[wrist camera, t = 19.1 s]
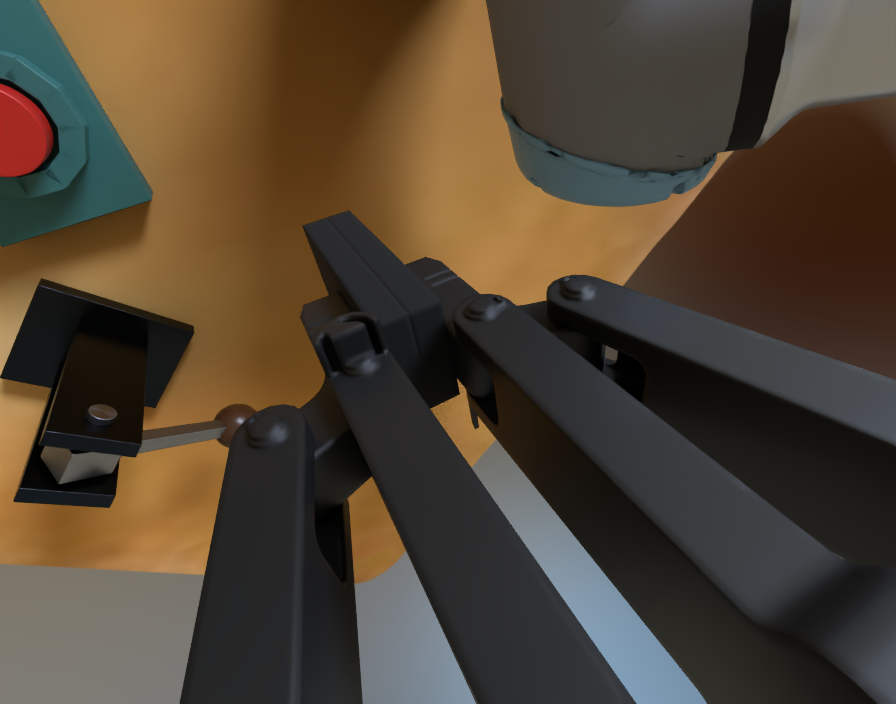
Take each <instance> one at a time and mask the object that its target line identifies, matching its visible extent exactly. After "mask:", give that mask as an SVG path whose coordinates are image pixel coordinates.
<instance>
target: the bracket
mask: <svg viewBox="0 0 896 704" xmlns="http://www.w3.org/2000/svg"><path fill="white" fill-rule="evenodd" d="M193 334H194V327H193V326H192V325H188V324H185V323H182V322H179V321H176V320H172V319H169V318H166V317H163V316H160V315H157V314H153V313H150V312H147V311H144V310H141V309H137V308H134V307H131V306H128V305H125V304H121V303H118V302H115V301H112V300H109V299H106V298H102V297H99V296H96V295H93V294H90V293H86V292H83V291H80V290H77V289H74V288H71V287H67V286H64V285H61V284H58V283H55V282H51V281H48V280H45V279H41V280H40V282H39V284H38V286H37V288H36V291H35V293H34V296H33V298H32V301H31V303H30V305H29V308H28V310H27V313H26V315H25V318H24V320H23V322H22V325H21V327H20V330H19V332H18V335H17V337H16V340H15V342H14V344H13V347H12V349H11V352H10V354H9V357H8V359H7V361H6V364H5V366H4V369H3V371H2V374H1V376H0V378H2V379H7V380H12V381H18V382H23V383H28V384H33V385H38V386H44V387H49V388H51V389H50V392H49V395H48V398H47V401H46V404H45V407H44V410H43V413H42V416H41V419H40V422H39V425H38V428H37V431H36V434H35V437H34V440H33V443H32V446H31V449H30V452H29V455H28V458H27V461H26V464H25V467H24V470H23V473H22V476H21V479H20V482H19V485H18V488H17V491H16V494H15V497H14V500H13V501H14V502H23V503H39V504H55V505H71V506H87V507H103V508H109V507H110V506H111V504H112V502H113V500H114V498H115V496H116V488H117V479H118V470H119V461H120V459H119V461H118V463H117V465H116V467H115V469H114V470H113V472H112V473H110V474H105V475H101V476H96V477H91V478H87V479H82V480H77V481H73V482H68V483H63V484H58V482H57V481H56V479H55V478H54V476H53V475H52V473H51V472H50V470H49V469H48V467H47V466H46V464H45V463H44V461H43V460H42V458H41V454H42V452H43V449H44V447H45V446H48V447H56V448H64V449H72V450H80V451H88V452H96V453H104V454H111V455H119V456H127V457H136V455H137V454H138V452H139V450H140V448H141V446H142V434H143V418H144V406H147V407H152V408H156V406H157V404H158V402H159V400H160V398H161V396H162V394H163V392H164V390H165V388H166V386H167V384H168V383H169V381H170V379H171V377H172V375H173V373H174V371H175V369H176V367H177V365H178V363H179V361H180V359H181V357H182V355H183V353H184V351H185V349H186V348H187V346H188V344H189V342H190V340H191V338H192V336H193Z"/></svg>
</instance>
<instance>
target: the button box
mask: <svg viewBox="0 0 896 704" xmlns="http://www.w3.org/2000/svg"><path fill="white" fill-rule="evenodd" d="M0 83H1V84H4V85H6V86H9V87H11V88H13V89H15V90H17V91H18V92H20V93H22V94H23V95H25V96H26V97H27V98H29V99H30V100H31V101H32V102H33V103H34V104H36V106H37V107H38V108H39V109H40V110H41V111H42V112H43V114H44V115H45V117H46V118H47V120H48V122H49V124H50V126H51V129H52V132H53V148H52V151H51V153H50V155H49V156H48V158H47V159H46V160H45V161H44V162H43V163H42V164H41V165H40V166H39V167H38V168H36V169H35V170H34V171H32V172H30V173H28V174H25V175H22V176H17V177H0V245H1V246H2V247H4V246H7V245H10V244H13V243H17V242H20V241H23V240H26V239H29V238H32V237H36V236H39V235H42V234H45V233H48V232H52V231H55V230H58V229H61V228H64V227H67V226H71V225H74V224H77V223H80V222H83V221H87V220H90V219H93V218H96V217H99V216H102V215H106V214H109V213H112V212H115V211H118V210H122V209H125V208H128V207H131V206H134V205H137V204H141V203H144V202H147V201H150V200H152V194H153V191H152V190H151V188H150V186H149V185H148V183H147V181H146V180H145V178H144V176H143V175H142V173H141V171H140V170H139V168H138V166H137V165H136V163H135V161H134V160H133V158H132V156H131V155H130V153H129V151H128V150H127V148H126V146H125V145H124V143H123V141H122V140H121V138H120V136H119V135H118V133H117V131H116V130H115V128H114V126H113V125H112V123H111V121H110V119H109V118H108V116H107V114H106V113H105V111H104V109H103V108H102V106H101V104H100V103H99V101H98V99H97V98H96V96H95V94H94V93H93V91H92V89H91V88H90V86H89V84H88V83H87V81H86V79H85V78H84V76H83V74H82V73H81V71H80V69H79V68H78V66H77V64H76V63H75V61H74V59H73V58H72V56H71V54H70V53H69V51H68V49H67V48H66V46H65V44H64V43H63V41H62V39H61V38H60V36H59V34H58V33H57V31H56V29H55V28H54V26H53V24H52V23H51V21H50V19H49V18H48V16H47V14H46V13H45V11H44V9H43V8H42V6H41V4H40V3H39V1H38V0H0Z"/></svg>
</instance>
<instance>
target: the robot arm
mask: <svg viewBox="0 0 896 704" xmlns="http://www.w3.org/2000/svg"><path fill="white" fill-rule="evenodd" d="M486 4H487V9H488V15H489V21H490V27H491V33H492V38H493V44H494V50H495V56H496V62H497V67H498V73H499V79H500V85H501V91H502V97H501V100H500V101H501V110H502V114H503V116H504V118H505V120H506V122H507V124H508V128H509V132H510V137H511V141H512V145H513V150H514V154H515V159H516V162H517V165H518V167H519V168H520V170H521V172H522V173H523V175H524V176H525V177H526V178H527V179H528V180H529V181H530V182H531V183H533V184H534V185H535V186H537V187H540V188H541V189H542V190H543V191H544V192H545V193H547V194H549V195H552V196H554V197H557V198H560V199H563V200H566V201H570V202H574V203H579V204H585V205H593V206H608V207H622V206H636V205H644V204H650V203H655V202H659V201H663V200H666V199H668V198H669V197H670V195H671V193H674V194H683V193H685V192H687V191H689V190H691V189H692V188H694V187H696V186H697V185H698V184H699V183H700V182H702V181H703V180H704V178H705V177H706V175H707V174H708V172H709V171H710V169H711V168H712V166H713V165H714V163H715V162H716V158H717V153H719V152H726V151H734V150H741V149H750V148H757V147H760V146H762V145H763V144H764V143H765V142H766V141H767V140H768V139H769V138H770V137H772V135H774V134H775V133H776V132H777V131H778V130H779V129H780V128H781V127H782V126H783V125H784V124H785V123H786V122H788V121H789V120H790V119H791V118H792V117H793V116H795V115H796V114H798V113H800V112H801V111H803V110H805V109H809V108H815V107H823V106H829V105H837V104H843V103H850V102H857V101H863V100H870V99H877V98H884V97H891V96H896V0H486ZM303 229H304V231H305V234H306V236H307V239H308V242H309V244H310V247H311V249H312V252H313V255H314V257H315V260H316V263H317V265H318V268H319V270H320V273H321V276H322V278H323V281H324V283H325V286H326V289H327V291H328V294H329V296H326V297H323V298H321V299H318V300H316V301H313V302H310V303H308V304H305V305H304V306H303V309H302V312H301V316H300V318H301V321H302V323H303V325H304V327H305V329H306V332H307V334H308V336H309V338H310V341H311V343H312V345H313V347H314V350H315V352H316V354H317V356H318V358H319V361H320V363H321V365H322V367H323V370H324V372H325V380H324V383H323V385H322V387H321V389H320V391H319V392H318V393H317V394H316V395H315V397H313V398H312V399H311V400H310V401H309V402H308V403H306V404H305V405H304V406H302V407H301V408H299V409H298V408H296V407H295V406H290V405H285V404H283V405H276V406H270V407H268V408H265V409H263V410H260V411H258V412H256V413H255V414H253V415H252V416H250V417H249V418H248V419H246V420H245V421H244V422H243V423H242V424H241V425H240V426H239V428H238V429H237V430H236V431H235V433H234V435H233V438H232V440H231V443H230V448H229V453H228V458H227V463H226V468H225V473H224V479H223V484H222V489H221V494H220V499H219V504H218V509H217V514H216V520H215V525H214V530H213V535H212V540H211V545H210V550H209V555H208V561H207V566H206V571H205V576H204V581H203V586H202V591H201V597H200V602H199V607H198V612H197V617H196V622H195V627H194V633H193V638H192V643H191V648H190V653H189V658H188V663H187V668H186V673H185V678H184V684H183V689H182V694H181V699H180V704H363V702H362V689H361V673H360V658H359V644H358V630H357V615H356V601H355V586H354V571H353V557H352V542H351V528H350V513H349V502H348V499H347V498H348V497H349V496H350V495H351V494H353V493H354V492H355V491H356V490H357V489H358V488H359V487H360V486H361V485H363V484H364V483H365V482H366V481H367V480H368V479H369V478H370V477H371V476H372V477H373V480H374V482H375V484H376V486H377V488H378V490H379V493H380V495H381V497H382V499H383V501H384V503H385V506H386V508H387V510H388V512H389V514H390V517H391V519H392V521H393V523H394V525H395V527H396V530H397V532H398V534H399V536H400V538H401V540H402V543H403V545H404V547H405V549H406V551H407V553H408V556H409V558H410V560H411V562H412V564H413V566H414V569H415V571H416V573H417V575H418V577H419V580H420V582H421V584H422V586H423V588H424V590H425V592H426V595H427V597H428V599H429V601H430V604H431V606H432V608H433V610H434V612H435V614H436V617H437V619H438V621H439V623H440V625H441V628H442V630H443V632H444V634H445V636H446V638H447V640H448V643H449V645H450V647H451V649H452V652H453V653H454V656H455V658H456V660H457V662H458V664H459V667H460V669H461V671H462V673H463V675H464V677H465V680H466V682H467V684H468V686H469V688H470V690H471V693H472V695H473V697H474V699H475V702H476V704H636V702H635V701H634V700H633V698H632V697H631V695H630V694H629V693H628V691H627V690H626V689H625V687H624V685H623V684H622V683H621V681H620V680H619V678H618V677H617V675H616V674H615V673H614V671H613V670H612V668H611V667H610V665H609V664H608V663H607V661H606V660H605V658H604V657H603V655H602V654H601V653H600V651H599V650H598V648H597V647H596V645H595V644H594V643H593V641H592V640H591V638H590V637H589V635H588V634H587V633H586V631H585V630H584V628H583V627H582V625H581V624H580V623H579V621H578V620H577V618H576V617H575V615H574V614H573V613H572V611H571V610H570V609H569V607H568V606H567V604H566V603H565V601H564V600H563V598H562V597H561V596H560V594H559V593H558V591H557V590H556V588H555V587H554V585H553V584H552V583H551V581H550V580H549V578H548V577H547V575H546V574H545V573H544V571H543V570H542V568H541V567H540V565H539V564H538V563H537V561H536V560H535V559H534V557H533V555H532V554H531V553H530V551H529V550H528V548H527V547H526V545H525V544H524V543H523V541H522V540H521V538H520V537H519V536H518V534H517V533H516V532H515V530H514V528H513V527H512V525H511V524H510V523H509V521H508V520H507V518H506V517H505V515H504V514H503V513H502V511H501V510H500V508H499V507H498V505H497V504H496V503H495V501H494V500H493V499H492V497H491V495H490V494H489V493H488V491H487V490H486V488H485V487H484V485H483V484H482V483H481V481H480V480H479V478H478V477H477V476H476V474H475V473H474V471H473V470H472V468H471V467H470V465H469V464H468V463H467V461H466V460H465V458H464V457H463V455H462V454H461V453H460V451H459V450H458V448H457V447H456V445H455V444H454V443H453V441H452V440H451V438H450V437H449V435H448V434H447V433H446V431H445V430H444V428H443V427H442V425H441V424H440V423H439V421H438V420H437V418H436V417H435V415H434V414H433V413H432V411H431V410H430V408H433V407H435V406H437V405H439V404H441V403H443V402H445V401H447V400H449V399H451V398H453V397H455V396H457V395H459V394H460V392H459V387H458V382H457V379H458V380H459V381H460V382H461V383H462V385H463V386H464V387H465V388H466V392H467V398H468V403H469V408H470V414H471V419H472V423H473V426H474V428H475V429H477V428H478V427H479V424H478V418H477V416H478V417H479V418H480V419H481V420H482V422H483V423H484V424H485V425H486V427H487V428H488V429H489V430H490V432H491V433H492V434H493V435H494V437H495V438H496V439H497V440H498V442H499V443H500V444H501V445H502V446H503V448H504V449H505V450H506V451H507V453H508V454H509V455H510V456H511V458H512V459H513V460H514V461H515V463H516V464H517V465H518V466H519V468H520V469H521V470H522V471H523V472H524V474H525V475H526V476H527V478H528V479H529V480H530V481H531V483H532V484H533V485H534V486H535V488H536V489H537V490H538V491H539V493H540V494H541V495H542V496H543V498H544V499H545V500H546V501H547V503H549V505H550V506H551V507H552V509H553V510H554V511H555V512H556V514H557V515H558V516H559V517H560V519H561V520H562V521H563V522H564V524H565V525H566V526H567V527H568V529H569V530H570V531H571V532H572V534H573V535H574V536H575V537H576V539H577V540H578V541H579V542H580V544H581V545H582V546H583V547H584V549H585V550H586V551H587V552H588V554H589V555H590V556H591V557H592V558H593V560H594V561H595V562H596V564H597V565H598V566H599V567H600V568H601V570H602V571H603V572H604V573H605V575H606V576H607V577H608V578H609V580H610V581H611V582H612V583H613V585H614V586H615V587H616V588H617V590H618V591H619V592H620V593H621V595H622V596H623V597H624V598H625V600H626V601H627V602H628V603H629V604H630V606H631V607H632V608H633V610H634V611H635V612H636V613H637V615H638V616H639V617H640V618H641V620H642V621H643V622H644V623H645V625H646V626H647V627H648V628H649V629H650V631H651V632H652V633H653V634H654V636H655V637H656V638H657V639H658V641H659V642H660V643H661V644H662V646H663V647H664V648H665V649H666V651H667V652H668V653H669V654H670V655H671V657H672V658H673V659H674V661H675V662H676V663H677V664H678V665H679V667H680V668H681V669H682V671H683V672H684V673H685V674H686V676H687V677H688V678H689V679H690V681H691V682H692V683H693V684H694V686H695V687H696V688H697V689H698V691H699V692H700V694H701V695H702V696H703V698H704V699H705V701H706V703H707V704H896V380H893V379H890V378H887V377H884V376H881V375H879V374H875V373H873V372H870V371H867V370H864V369H861V368H858V367H855V366H852V365H849V364H847V363H844V362H841V361H838V360H835V359H832V358H829V357H826V356H823V355H820V354H817V353H814V352H811V351H809V350H806V349H803V348H800V347H797V346H794V345H791V344H788V343H786V342H783V341H780V340H777V339H774V338H771V337H768V336H765V335H762V334H759V333H756V332H754V331H751V330H748V329H745V328H742V327H739V326H736V325H733V324H730V323H727V322H724V321H722V320H719V319H716V318H713V317H710V316H707V315H704V314H701V313H698V312H695V311H692V310H690V309H687V308H684V307H681V306H678V305H675V304H672V303H669V302H666V301H663V300H660V299H658V298H655V297H652V296H649V295H646V294H643V293H640V292H637V291H634V290H631V289H629V288H626V287H623V286H620V285H617V284H614V283H611V282H608V281H605V280H602V279H600V278H597V277H592V276H587V275H570V276H566V277H562V278H560V279H558V280H556V281H553V282H552V283H551V284H550V285H549V286H548V289H547V301H542V302H537V303H532V304H527V305H520V306H516V305H515V304H513V303H512V302H511V301H510V300H508V299H506V298H504V297H502V296H500V295H494V294H479V293H478V292H477V291H476V290H474V289H473V288H472V287H471V286H470V285H468V284H467V283H466V282H465V281H464V280H462V279H461V278H460V277H458V276H457V275H456V274H455V273H454V272H453V271H452V270H451V271H450V269H449V268H448V267H447V266H446V265H444V264H443V263H442V262H441V261H438V260H434V259H431V258H427V257H424V258H422V259H419V260H416V261H414V262H411V263H408V264H406V265H404V264H403V263H402V262H401V261H400V260H399V259H398V258H397V257H396V256H395V255H394V254H393V253H392V252H391V251H390V250H389V249H388V248H387V247H386V246H385V245H384V244H383V243H382V242H381V241H380V240H379V239H378V238H377V237H376V236H375V235H374V234H373V233H372V232H371V231H370V230H369V229H368V228H367V227H365V226H364V225H363V224H362V223H361V222H360V221H359V220H358V219H357V218H356V217H355V216H354V215H353V214H352V213H351V212H350V211H349V210H348V211H345V212H342V213H339V214H336V215H333V216H330V217H327V218H324V219H321V220H318V221H315V222H312V223H309V224H306V225H303ZM606 346H608V347H610V348H613V349H615V350H617V351H618V356H617V360H614V361H613V360H610V359H607V358H605V349H606ZM834 553H835V554H834ZM836 554H837V555H838V556H837V555H836ZM839 556H840V557H842V558H843V559H842V558H840V557H839Z"/></svg>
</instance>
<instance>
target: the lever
mask: <svg viewBox="0 0 896 704" xmlns="http://www.w3.org/2000/svg"><path fill="white" fill-rule="evenodd" d="M255 413H256V410H254V409H253V408H252V407H250V406H248V405H245V404H233V405H229V406H227V407H225V408H223V409H222V410H221V411H220V412H219V413H218V414H217V415H216V417H215V419H214V421H208V422H201V423H194V424H187V425H180V426H173V427H166V428H159V429H152V430H145V431H143V434H142V446H141V448H140V450H139V452H138V453H143V452H148V451H153V450H159V449H164V448H169V447H175V446H180V445H186V444H191V443H196V442H202V441H207V440H212V439H217V441H218V442H219V443H220V444H222V445H223V446H225V447H228V448H230V443H231V440H232V438H233V435H234V433H235V431H236V430H237V429H238V428H239V426H240V425H241V424H242V423H243V422H244V421H245V420H246V419H248V418H249V417H250V416H252V415H253V414H255ZM120 457H121V456H119V455H111V454H104V453H96V452H88V451H80V450H72V449H64V448H56V447H48V446H45V447H44V449H43V452H42V454H41V458H42V460H43V461H44V463H45V464H46V466H47V467H48V469H49V470H50V472H51V473H52V475H53V476H54V478H55V479H56V481H57V482H58V484H63V483H68V482H73V481H77V480H82V479H87V478H91V477H96V476H101V475H105V474H110V473H112V472H113V470H114V469H115V467H116V465H117V463H118V461H119V459H120Z"/></svg>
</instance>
